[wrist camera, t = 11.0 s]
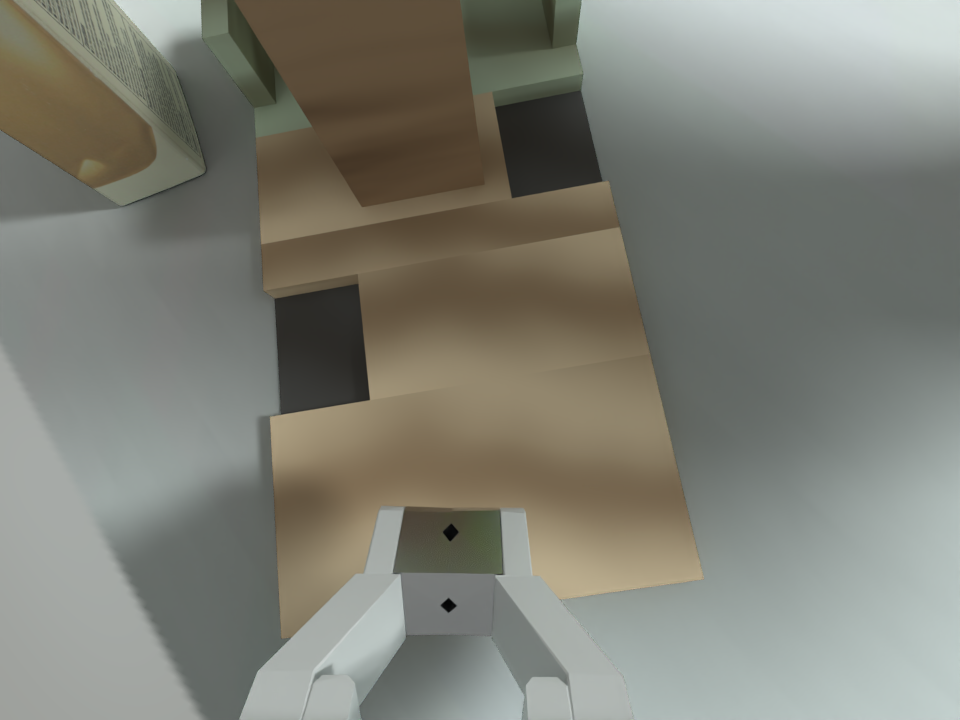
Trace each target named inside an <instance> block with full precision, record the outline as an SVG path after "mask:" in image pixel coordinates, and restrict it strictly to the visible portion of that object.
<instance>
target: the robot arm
mask: <svg viewBox="0 0 960 720" xmlns="http://www.w3.org/2000/svg"><path fill="white" fill-rule="evenodd" d="M406 635H473V636H492V640H493V641H494V643H495V645H496V647H497V648H498V650H499V652H500V654H501V655H502V657H503V659H504V661H505V662H506V664H507V666H508V668H509V670H510V671H511V673H512V675H513V677H514V678H515V680H516V682H517V684H518V685H519V687H520V689H521V691H522V693H523V694H524V704H523V712H522V720H634V717H633V713H632V709H631V705H630V701H629V697H628V693H627V688H626V684H625V680H624V676H623V675H622V674H621V673H620V671H619V670H618V669H617V668H616V667H615V665H614V664H613V663H612V662H611V661H610V659H609V658H608V657H607V656H606V655H605V653H604V652H603V651H602V650H601V649H600V647H599V646H598V645H597V644H596V643H595V641H594V640H593V639H592V638H591V637H590V635H589V634H588V633H587V632H586V631H585V629H584V628H583V627H582V626H581V625H580V623H579V622H578V621H577V620H576V619H575V617H574V616H573V615H572V614H571V613H570V611H569V610H568V609H567V608H566V607H565V605H564V604H563V603H562V602H561V601H560V599H559V598H558V597H557V596H556V595H555V593H554V592H553V591H552V590H551V589H550V587H549V586H548V585H547V584H546V583H545V581H544V580H543V579H542V578H541V576H533V574H532V565H531V556H530V547H529V538H528V529H527V520H526V512H525V510H524V508H500V509H499V508H454V507H453V508H440V507H415V506H406V507H403V506H381V508H380V509H379V511H378V514H377V518H376V523H375V527H374V531H373V535H372V539H371V543H370V547H369V551H368V556H367V560H366V564H365V568H364V572H363V574H355V575H354V576H353V577H352V578H351V579H350V580H349V581H348V582H347V583H346V584H345V585H344V586H343V587H342V588H341V589H340V590H339V591H338V592H337V593H336V594H335V595H334V596H333V597H332V598H331V599H330V600H329V601H328V602H327V603H326V604H325V605H324V606H323V607H322V608H321V609H320V610H319V611H318V612H317V613H316V614H315V615H314V616H313V617H312V618H311V619H310V620H309V621H308V622H307V623H306V624H305V625H304V626H303V627H302V628H301V629H300V630H299V631H298V632H297V633H296V634H295V635H294V636H293V637H292V638H291V639H290V640H289V641H287V642H286V643H285V644H284V645H283V646H282V647H281V648H280V649H279V650H278V651H277V652H276V653H275V654H274V655H273V656H272V657H271V658H270V659H269V660H268V661H267V662H266V663H265V664H264V665H263V666H262V667H261V668H260V669H259V670H258V672H257V674H256V677H255V679H254V682H253V685H252V687H251V690H250V692H249V695H248V697H247V700H246V703H245V705H244V708H243V710H242V713H241V716H240V718H239V720H362V719H361V714H360V709H359V706H360V705H361V703H362V702H363V701H364V699H365V698H366V696H367V695H368V693H369V692H370V690H371V689H372V687H373V686H374V684H375V683H376V682H377V680H378V679H379V677H380V676H381V674H382V673H383V671H384V670H385V668H386V667H387V665H388V664H389V663H390V661H391V660H392V658H393V657H394V655H395V654H396V652H397V651H398V649H399V648H400V646H401V645H402V644H403V642H404V641H405V639H406Z"/></svg>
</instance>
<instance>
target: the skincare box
mask: <svg viewBox="0 0 960 720" xmlns="http://www.w3.org/2000/svg"><path fill="white" fill-rule="evenodd" d="M0 130H1V131H3V132H4V133H6V134H8V135H9V136H11V137H12V138H14V139H16V140H17V141H19V142H20V143H22V144H23V145H25V146H27V147H28V148H30V149H31V150H33V151H35V152H36V153H38V154H39V155H41V156H42V157H44V158H45V159H47V160H49V161H50V162H52V163H53V164H55V165H56V166H58V167H60V168H61V169H63V170H64V171H66V172H67V173H69V174H70V175H72V176H74V177H75V178H77V179H78V180H80V181H81V182H83V183H85V184H86V185H88V186H89V187H91V188H92V189H94V190H95V191H97V192H98V193H100V194H102V195H103V196H105V197H106V198H108V199H109V200H111V201H113V202H114V203H116V204H117V205H120V206H124V205H127V204H129V203H132V202H134V201H137V200H140V199H142V198H145V197H148V196H150V195H153V194H155V193H158V192H161V191H163V190H166V189H168V188H171V187H173V186H176V185H178V184H180V183H183V182H185V181H187V180H190V179H192V178H195V177H197V176H200V175H202V174H204V172H205V170H206V167H205V163H204V160H203V156H202V152H201V149H200V145H199V142H198V138H197V135H196V132H195V128H194V125H193V122H192V119H191V116H190V113H189V110H188V106H187V104H186V101H185V98H184V95H183V92H182V89H181V86H180V84H179V81H178V78H177V75H176V72H175V70H174V69H173V67H172V66H171V65H170V64H169V63H168V61H167V60H166V59H165V58H164V57H163V56H162V55H161V54H160V52H159V51H158V50H157V49H156V48H155V47H154V46H153V44H152V43H151V42H150V41H149V40H148V39H147V38H146V36H145V35H144V34H143V33H142V32H141V31H140V30H139V29H138V27H137V26H136V25H135V24H134V23H133V22H132V21H131V20H130V18H129V17H128V16H127V15H126V14H125V13H124V12H123V11H122V9H121V8H120V7H119V6H118V5H117V4H116V3H115V2H114V0H0Z"/></svg>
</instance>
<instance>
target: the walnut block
mask: <svg viewBox="0 0 960 720" xmlns="http://www.w3.org/2000/svg"><path fill="white" fill-rule="evenodd" d="M234 1H235V2H236V4H237V6H238V7H239V9H240V11H241V12H242V14H243V15H244V17H245V19H246V20H247V22H248V23H249V25H250V27H251V28H252V30H253V32H254V33H255V35H256V36H257V38H258V40H259V41H260V43H261V45H262V46H263V48H264V49H265V51H266V53H267V54H268V56H269V58H270V59H271V61H272V62H273V64H274V66H275V67H276V69H277V70H278V72H279V74H280V75H281V77H282V79H283V80H284V82H285V83H286V85H287V87H288V88H289V90H290V92H291V93H292V95H293V96H294V98H295V100H296V101H297V103H298V104H299V106H300V108H301V109H302V111H303V113H304V114H305V116H306V117H307V119H308V121H309V122H310V124H311V126H312V127H313V129H314V130H315V132H316V134H317V135H318V137H319V139H320V140H321V142H322V143H323V145H324V147H325V148H326V150H327V151H328V153H329V155H330V156H331V158H332V160H333V161H334V163H335V164H336V166H337V168H338V169H339V171H340V173H341V174H342V176H343V177H344V179H345V181H346V182H347V184H348V185H349V187H350V189H351V190H352V192H353V194H354V195H355V197H356V198H357V200H358V202H359V203H360V205H361V207H367V206H372V205H378V204H383V203H388V202H394V201H399V200H404V199H410V198H415V197H420V196H426V195H431V194H436V193H442V192H447V191H452V190H458V189H463V188H469V187H474V186H479V185H485V182H484V175H483V168H482V160H481V153H480V145H479V138H478V130H477V123H476V115H475V108H474V101H473V93H472V86H471V78H470V71H469V63H468V56H467V49H466V41H465V34H464V26H463V19H462V11H461V4H460V0H234Z"/></svg>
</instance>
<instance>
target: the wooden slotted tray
mask: <svg viewBox="0 0 960 720" xmlns="http://www.w3.org/2000/svg"><path fill="white" fill-rule="evenodd" d="M581 1H582V0H460V4H461V11H462V19H463V26H464V34H465V41H466V49H467V56H468V63H469V71H470V78H471V86H472V93H473V101H474V108H475V115H476V123H477V130H478V138H479V145H480V153H481V160H482V168H483V175H484V182H485V185H479V186H474V187H469V188H463V189H458V190H452V191H447V192H442V193H436V194H431V195H426V196H420V197H415V198H410V199H404V200H399V201H394V202H388V203H383V204H378V205H372V206H367V207H361V205H360V203H359V202H358V200H357V198H356V197H355V195H354V194H353V192H352V190H351V189H350V187H349V185H348V184H347V182H346V181H345V179H344V177H343V176H342V174H341V173H340V171H339V169H338V168H337V166H336V164H335V163H334V161H333V160H332V158H331V156H330V155H329V153H328V151H327V150H326V148H325V147H324V145H323V143H322V142H321V140H320V139H319V137H318V135H317V134H316V132H315V130H314V129H313V127H312V126H311V124H310V122H309V121H308V119H307V117H306V116H305V114H304V113H303V111H302V109H301V108H300V106H299V104H298V103H297V101H296V100H295V98H294V96H293V95H292V93H291V92H290V90H289V88H288V87H287V85H286V83H285V82H284V80H283V79H282V77H281V75H280V74H279V72H278V70H277V69H276V67H275V66H274V64H273V62H272V61H271V59H270V58H269V56H268V54H267V53H266V51H265V49H264V48H263V46H262V45H261V43H260V41H259V40H258V38H257V36H256V35H255V33H254V32H253V30H252V28H251V27H250V25H249V23H248V22H247V20H246V19H245V17H244V15H243V14H242V12H241V11H240V9H239V7H238V6H237V4H236V2H235V1H234V0H201V19H202V39H203V40H204V42H205V43H206V44H207V46H208V47H209V48H210V50H211V51H212V52H213V54H214V55H215V56H216V58H217V59H218V60H219V62H220V63H221V64H222V66H223V67H224V68H225V70H226V71H227V73H228V74H229V75H230V77H231V78H232V79H233V81H234V82H235V83H236V85H237V86H238V87H239V89H240V90H241V91H242V93H243V94H244V95H245V97H246V98H247V99H248V101H249V102H250V103H251V105H252V106H253V107H254V116H255V136H256V156H257V175H258V195H259V214H260V234H261V253H262V273H263V291H264V292H266V293H267V294H269V295H270V296H272V297H273V298H275V310H276V328H277V346H278V363H279V381H280V399H281V415H277V416H271V417H270V429H271V449H272V468H273V488H274V507H275V527H276V547H277V566H278V586H279V605H280V625H281V639H284V638H291V637H293V636H294V635H295V634H296V633H297V632H298V631H299V630H300V629H301V628H302V627H303V626H304V625H305V624H306V623H307V622H308V621H309V620H310V619H311V618H312V617H313V616H314V615H315V614H316V613H317V612H318V611H319V610H320V609H321V608H322V607H323V606H324V605H325V604H326V603H327V602H328V601H329V600H330V599H331V598H332V597H333V596H334V595H335V594H336V593H337V592H338V591H339V590H340V589H341V588H342V587H343V586H344V585H345V584H346V583H347V582H348V581H349V580H350V579H351V578H352V577H353V576H354V575H355V574H363V572H364V568H365V564H366V560H367V556H368V551H369V547H370V543H371V539H372V535H373V531H374V527H375V523H376V518H377V514H378V511H379V509H380V508H381V506H403V507H406V506H415V507H440V508H453V507H454V508H499V509H500V508H524V510H525V512H526V520H527V529H528V538H529V547H530V556H531V565H532V574H533V576H541V578H542V579H543V580H544V581H545V583H546V584H547V585H548V586H549V587H550V589H551V590H552V591H553V592H554V593H555V595H556V596H557V597H558V598H559V599H560V600H561V599H568V598H575V597H582V596H589V595H596V594H604V593H611V592H618V591H625V590H632V589H639V588H646V587H653V586H660V585H667V584H675V583H682V582H689V581H696V580H703V579H704V577H703V572H702V568H701V564H700V560H699V556H698V552H697V547H696V543H695V539H694V535H693V531H692V526H691V522H690V518H689V514H688V510H687V506H686V501H685V497H684V493H683V489H682V485H681V480H680V476H679V472H678V468H677V464H676V460H675V455H674V451H673V447H672V443H671V439H670V434H669V430H668V426H667V422H666V418H665V414H664V409H663V405H662V401H661V397H660V393H659V388H658V384H657V380H656V376H655V372H654V368H653V363H652V359H651V355H650V351H649V347H648V342H647V338H646V334H645V330H644V326H643V322H642V317H641V313H640V309H639V305H638V301H637V296H636V292H635V288H634V284H633V280H632V276H631V271H630V267H629V263H628V259H627V255H626V250H625V246H624V242H623V238H622V234H621V230H620V225H619V221H618V217H617V213H616V209H615V204H614V200H613V196H612V192H611V188H610V184H609V181H604V182H602V179H601V174H600V170H599V166H598V162H597V157H596V153H595V149H594V145H593V140H592V136H591V132H590V128H589V123H588V119H587V115H586V111H585V106H584V102H583V98H582V94H581V85H582V79H583V71H582V66H581V62H580V58H579V54H578V50H577V46H576V41H577V33H578V25H579V17H580V9H581Z"/></svg>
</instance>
